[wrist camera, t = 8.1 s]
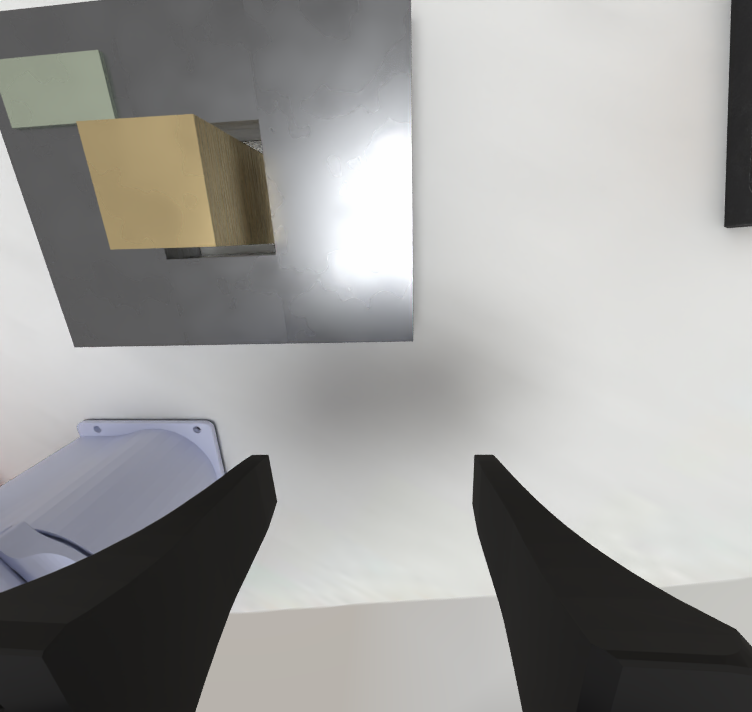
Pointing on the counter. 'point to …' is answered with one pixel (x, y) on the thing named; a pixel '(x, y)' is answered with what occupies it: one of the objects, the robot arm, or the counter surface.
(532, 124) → the counter surface
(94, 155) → the brass peg
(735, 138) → the ammunition clip
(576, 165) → the counter surface
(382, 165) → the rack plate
